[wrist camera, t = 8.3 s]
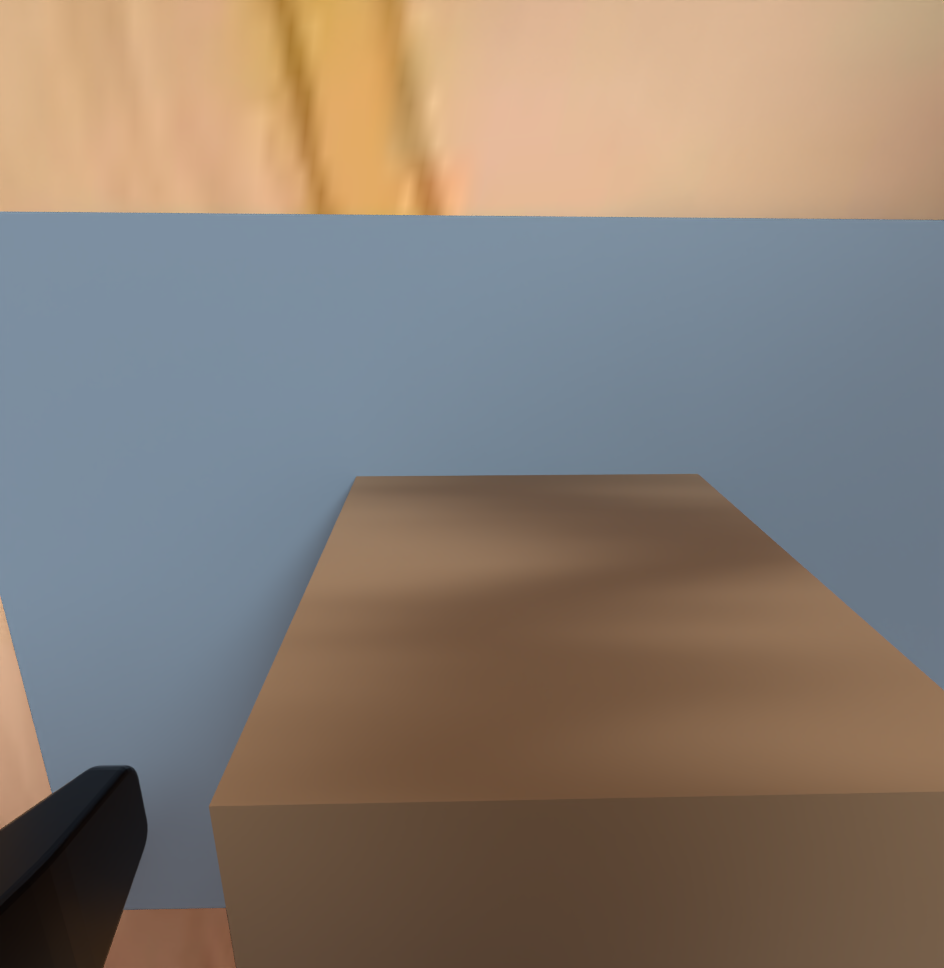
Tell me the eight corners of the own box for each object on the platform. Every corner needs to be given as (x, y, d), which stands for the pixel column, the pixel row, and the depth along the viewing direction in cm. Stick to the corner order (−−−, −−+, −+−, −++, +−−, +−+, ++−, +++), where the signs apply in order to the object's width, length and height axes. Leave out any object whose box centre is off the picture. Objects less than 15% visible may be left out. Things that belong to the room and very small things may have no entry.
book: (955, 231, 12) (1143, 222, 9) (830, 763, 16) (927, 893, 12) (56, 224, 11) (-100, 211, 8) (160, 773, 15) (82, 910, 12)
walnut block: (698, 473, 10) (1055, 788, 4) (664, 749, 11) (881, 1253, 6) (356, 476, 9) (208, 806, 4) (373, 754, 11) (288, 1276, 5)
